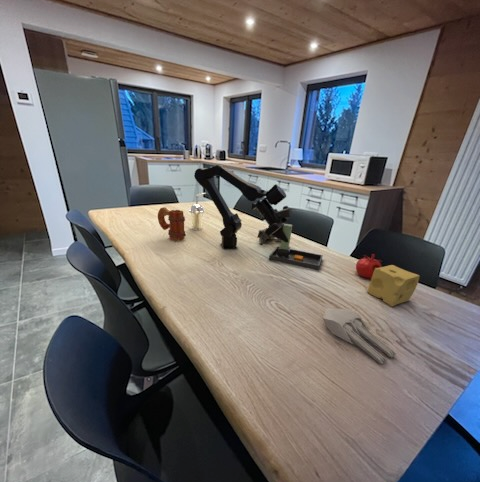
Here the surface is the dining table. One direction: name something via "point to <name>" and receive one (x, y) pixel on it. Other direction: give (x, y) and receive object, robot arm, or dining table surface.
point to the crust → (298, 258)
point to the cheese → (393, 284)
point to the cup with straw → (196, 214)
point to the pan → (308, 261)
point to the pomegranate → (367, 266)
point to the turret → (355, 331)
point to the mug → (172, 223)
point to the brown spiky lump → (265, 236)
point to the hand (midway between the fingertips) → (288, 240)
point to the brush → (284, 247)
